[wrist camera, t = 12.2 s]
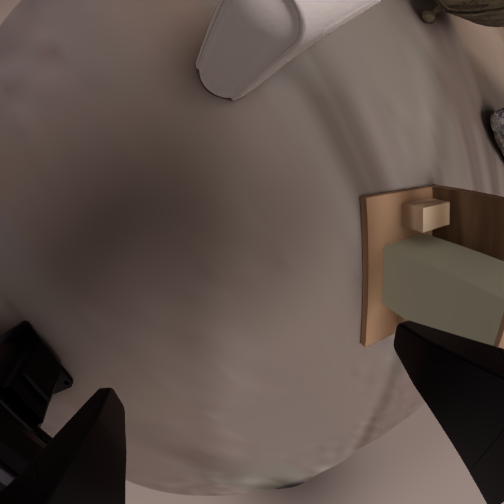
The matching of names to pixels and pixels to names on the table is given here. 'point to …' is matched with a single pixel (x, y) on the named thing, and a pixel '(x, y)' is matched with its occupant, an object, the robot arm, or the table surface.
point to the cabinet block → (445, 287)
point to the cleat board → (416, 223)
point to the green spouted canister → (470, 11)
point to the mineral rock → (498, 127)
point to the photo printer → (264, 38)
